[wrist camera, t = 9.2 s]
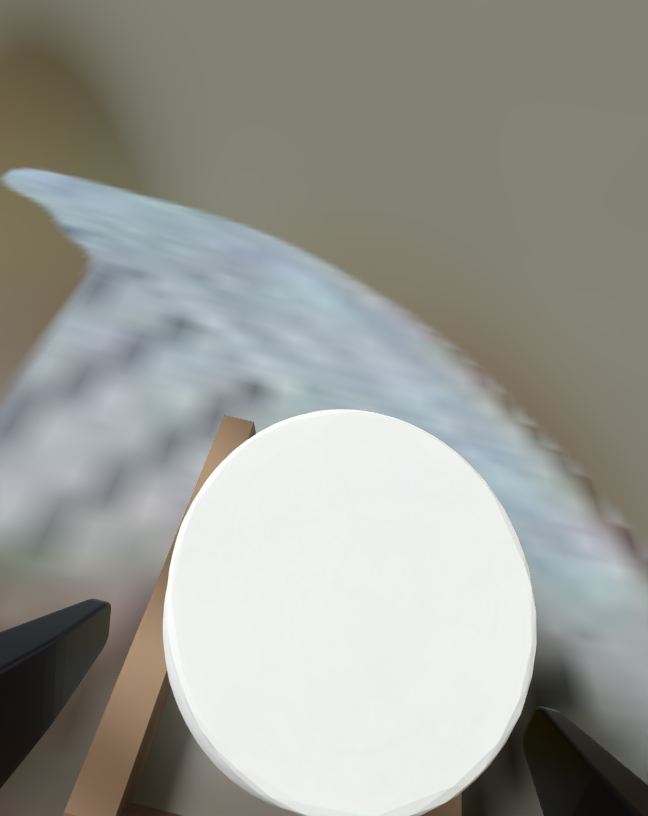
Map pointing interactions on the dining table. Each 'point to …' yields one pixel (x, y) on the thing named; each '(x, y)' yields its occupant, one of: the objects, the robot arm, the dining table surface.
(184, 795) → the open-ended tray
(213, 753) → the supplement bottle
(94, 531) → the dining table surface
